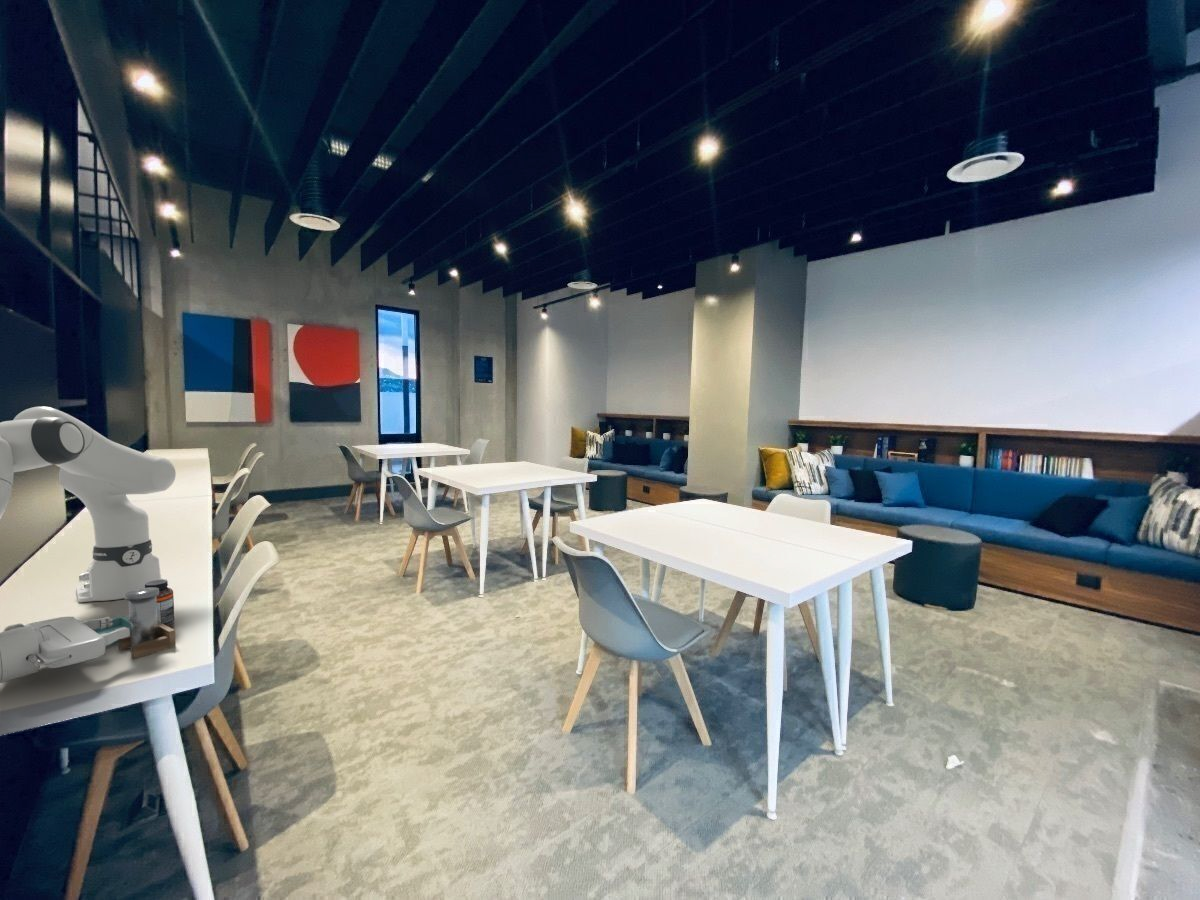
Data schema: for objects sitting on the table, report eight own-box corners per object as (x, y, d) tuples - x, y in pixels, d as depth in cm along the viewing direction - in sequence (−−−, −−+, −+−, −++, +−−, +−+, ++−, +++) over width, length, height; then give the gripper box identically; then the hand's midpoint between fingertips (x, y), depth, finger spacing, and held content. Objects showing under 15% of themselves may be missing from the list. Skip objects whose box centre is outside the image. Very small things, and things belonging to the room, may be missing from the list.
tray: (60, 643, 110) (59, 631, 110) (124, 626, 119) (123, 615, 119) (76, 655, 104) (75, 643, 104) (141, 636, 114) (141, 625, 113)
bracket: (118, 648, 108) (118, 632, 108) (158, 636, 114) (158, 621, 113) (134, 658, 103) (134, 642, 103) (175, 646, 109) (174, 630, 109)
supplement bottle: (135, 631, 116) (132, 584, 115) (165, 621, 122) (163, 576, 121) (150, 635, 114) (148, 587, 113) (180, 625, 120) (178, 579, 119)
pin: (123, 649, 107) (120, 593, 106) (155, 640, 112) (153, 585, 111) (133, 656, 104) (130, 597, 104) (165, 646, 109) (163, 590, 108)
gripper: (35, 650, 87) (138, 622, 99) (5, 623, 97) (101, 601, 109) (37, 684, 88) (139, 653, 99) (7, 654, 98) (103, 629, 110)
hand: (119, 625), depth 104 cm, fingers open, 8 cm apart
